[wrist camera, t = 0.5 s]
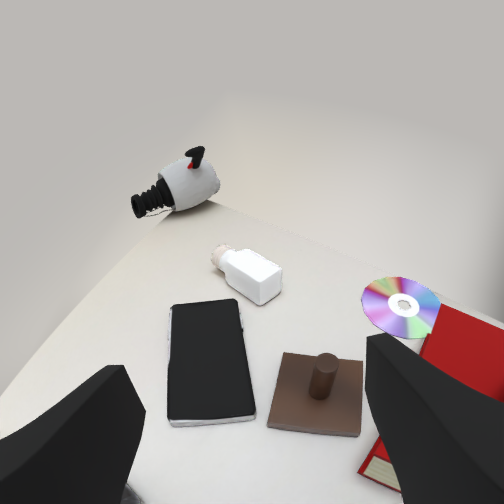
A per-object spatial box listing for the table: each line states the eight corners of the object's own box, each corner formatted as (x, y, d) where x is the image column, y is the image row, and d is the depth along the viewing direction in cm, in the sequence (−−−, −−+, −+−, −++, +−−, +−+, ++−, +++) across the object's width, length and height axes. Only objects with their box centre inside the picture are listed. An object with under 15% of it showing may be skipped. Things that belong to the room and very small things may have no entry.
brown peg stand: (357, 437, 23) (375, 409, 20) (267, 427, 25) (267, 397, 22) (361, 366, 29) (373, 330, 26) (283, 357, 31) (285, 320, 28)
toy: (135, 202, 44) (147, 243, 58) (239, 155, 50) (229, 202, 64) (114, 160, 46) (128, 206, 60) (211, 120, 52) (207, 170, 66)
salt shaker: (259, 282, 35) (206, 248, 41) (260, 309, 37) (210, 273, 43) (284, 266, 37) (230, 236, 43) (283, 292, 39) (232, 260, 45)
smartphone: (165, 422, 24) (169, 304, 36) (168, 427, 25) (171, 312, 37) (258, 414, 25) (238, 297, 37) (258, 419, 25) (238, 305, 38)
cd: (347, 316, 35) (347, 316, 35) (434, 351, 30) (433, 352, 30) (377, 267, 43) (377, 267, 43) (449, 294, 37) (449, 294, 37)
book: (474, 519, 13) (508, 504, 11) (357, 472, 20) (374, 453, 17) (513, 372, 25) (534, 343, 22) (426, 335, 32) (441, 303, 29)
